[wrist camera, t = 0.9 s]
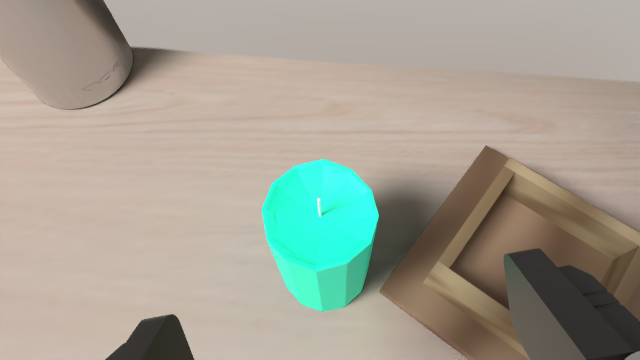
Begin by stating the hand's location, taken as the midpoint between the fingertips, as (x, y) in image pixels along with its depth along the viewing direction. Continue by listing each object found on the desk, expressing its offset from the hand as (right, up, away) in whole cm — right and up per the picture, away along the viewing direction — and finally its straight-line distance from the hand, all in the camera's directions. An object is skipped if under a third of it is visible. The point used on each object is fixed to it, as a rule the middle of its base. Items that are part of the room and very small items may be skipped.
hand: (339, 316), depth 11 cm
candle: (0, -3, +22) cm, 22 cm away
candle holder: (+14, -3, +21) cm, 25 cm away
